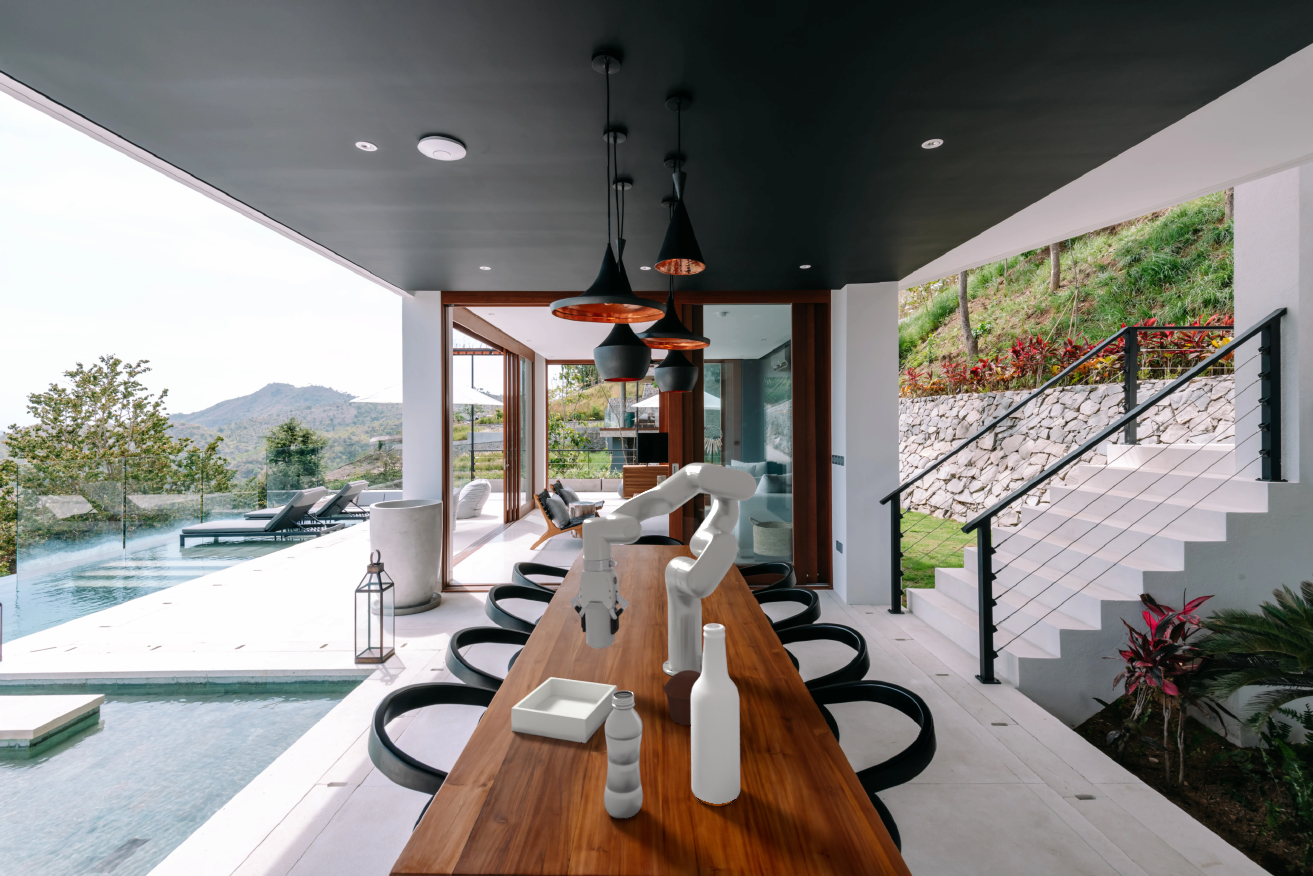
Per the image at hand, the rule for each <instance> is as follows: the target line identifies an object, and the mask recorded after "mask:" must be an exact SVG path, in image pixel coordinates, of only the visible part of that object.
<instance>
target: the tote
mask: <svg viewBox="0 0 1313 876" xmlns="http://www.w3.org/2000/svg"><path fill="white" fill-rule="evenodd" d="M617 691H618V685H614V684H606V683H601V682H599V683H598V682H592V681H591V682H590V681H583V680H577V679H575V680H574V679H569V678H563V677H562V678H559V677H551V676H550V677H549V678H547V679H546V680H545V681H544V682H542V683H541V684H540V685H538V686H537V687H536V688H535V689H534V690H532V691H531V692H530V693H528V694H527V695H526V696H525V697H523V698H522V699H521V700H520V701H519V702H517V703H515V705H513V706H512V707H511V709H510V710H511V713H510V714H511V715H510V716H511V726H510V727H511V732H516V733H522V734H527V735H534V736H540V737H547V738H552V739H559V740H562V741H569V742H570V741H571V742H575V743H581V742H582V743H583V744H587V742H588V741H589V740H590V739H591V737H592V736H593V735H594V734H595V732H596V731H598V729H599V728H600V727H601V726H602V725H603V723H604V722H606V720H607V718H608V716H609V715H610V713H611V712H612V710H613V709H614V708H613V707H612V702H613V699H612V696H613V693H615V692H617ZM582 743H581V744H582Z"/></svg>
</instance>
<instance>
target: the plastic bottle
mask: <svg viewBox="0 0 1313 876" xmlns="http://www.w3.org/2000/svg"><path fill="white" fill-rule="evenodd" d="M612 699H613V702H612V707H613V708H614V709H613V710H612V712H611V713H610V715H609V716H608V717H607V719H606V720H605V723H604V733H605V734H604V735H605V742H606V750H607V751H606V752H607V772H606V783H605V787H604V795H603V802H604V808H605V811H606V812H607V814H608V815H610V816H611V817H612V818H615V819H619V818H620V820H621V818H625V819H630V818H632V816H633V817H634V816H636V815H637V813H639V811H640V809H641V808H642V804H643V800H644V794H643V788H642V787H643V786H642V782H641V772H640V770H641V769H640V757H641V756H640V755H641V754H640V751H641V744H642V743H641V742H642V736H643V730H644V729H643V727H644V725H643V721H642V718H641V716H640V715H639V714H638V711H636V710H635V708H634V707H635V705H636V703H635V694H634V692H633V691H630V690H617V692H615V693H613V696H612ZM635 814H636V815H635ZM629 817H630V818H629Z"/></svg>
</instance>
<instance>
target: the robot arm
mask: <svg viewBox="0 0 1313 876" xmlns="http://www.w3.org/2000/svg"><path fill="white" fill-rule="evenodd" d="M756 492H757V481H756V478H755V477H754V476H753V475H752V473H750V472H748V471H747V470H746V471H745V470H742V469H741V470H740V469H736V468H731V467H727V466H722V465H720V464H719V465H718V464H715V463H709V462H692V463H691V462H690V463H689V464H686V465H685V466H683V467H682V468H680V469H679V470H678V471H676V472H675V473H673V474H672V475H671V476H669V477H668V478H666V479H665V480H664V481H662V482H661V483H659V484H658V485H656V486H655V487H652V488H651V489H648V490H646V491H644V492H642V493H640V494H638V495H637V496H635V497H633V498H629V499H628V500H626V501H624V503H622V504H620V505H619V506H618V507H616V508H615V509H614V510H612V511H611V512H609V513H608V514H607V515H606V516H605V517H602V516H601V517H589V518H585V519H584V520H583V521H582V524H581V527H582V531H581V532H582V556H583V557H582V558H583V569H582V570H581V572H580V577H579V578H580V579H579V589H578V591H579V593H577V594H576V595H575V596H574V597H572V598H571V599H570V600H569V602H570V604H571V605H572V607H573V608H574V610H575V612H576V613H577V614H578V616H579V618H580V624H581V625H580V627H581V628H582V633H586V621H585V607H586V606H587V605H588V604H589V603H588V602H592V603H601V602H603V605H604V606H605V607H606V608H607V609H609V610H610V614H611V616H612V619H611V634H612V635H614V634H615V635H616V633H617V632H618V631H619V629H620V619H619V618H620V616H621V615H622V614H623V613H624V612H625V610H626V609H627V607H628V606H629V605H630V602H629V601H628V600H627V599H626V598H624V596H622V595H621V594H620V587H619V586H620V585H619V579H618V575H617V571H616V569H615V568H614V567H617V564H618V562H617V560H614V559H613V558H614V557H613V554H612V552H613V551H612V545H630V544H631V545H632V544H635V542H637V541H638V540H639V539H640V537H641V536H642V534H643V533H642V532H643V527H642V526H643V525H642V524H641V523H642V522H644V521H646V520H648V519H651V518H656V517H660V516H662V517H663V516H665V515H668V514H671V513H673V512H674V511H676V510H677V509H679V508H680V507H681V506H683V505H684V504H686V503H687V502H688V501H689V500H691V499H693V498H694V497H695V496H697V495H698V494H707V495H710V496H711V495H712V506H711V509H710V511H709V512H708V514H707V515H706V517H705V518H704V520H703V521H702V522H701V524H700V525H699V527H698V528H697V530H696V531H695V533H694V534H693V535H692V536H691V539H690V542H689V549H690V552H691V553H692V555H694V556H695V557H696V558H697V559H693V558H691V557H689V556H676V557H674V558H672V559H671V560H670V561H669V562H668V564H667V565H666V567H665V572H664V581H665V587H666V594H667V629H668V630H667V633H668V634H667V639H668V641H667V645H668V647H667V648H668V649H667V650H668V652H667V653H668V654H667V655H668V659H667V660H666V661H665V662H663V664H662V670H663V672H664V673H665V674H667V675H668V676H671V677H672V676H673V675H675V674H677V673H678V672H681V671H685V670H693V671H697V672H699V673H701V672H702V662H703V646H702V643H703V641H702V639H703V637H702V636H703V634H702V632H703V631H702V629H703V628H702V627H703V626H702V623H703V622H702V621H703V619H702V617H703V616H702V613H703V611H702V610H703V608H702V601H701V599H704V598H707V597H709V596H711V594H713V593H714V591H715V590H716V589H717V587H718V586H719V584H720V583H721V582H722V580H723V579H724V577H725V576H726V574H727V573H728V572H729V570H730V569H731V567H732V565H733V564H734V562H735V560H736V558H737V555H738V551H739V550H738V549H739V546H738V540H737V539H736V537H735V536H734V535H733V534H732V532H733V531H734V529H735V527H736V526H737V523H738V520H739V517H740V508H739V507H740V506H739V502H745V501H748V500H750V499H751V498H752V497H754V495H755V493H756ZM620 604H621V605H620ZM618 605H620V607H619V608H618Z"/></svg>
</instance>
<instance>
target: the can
mask: <svg viewBox="0 0 1313 876" xmlns="http://www.w3.org/2000/svg"><path fill="white" fill-rule="evenodd" d="M588 603H589V604H588V605H587V606H586V607H585V621H586V632H585V641H586V642H585V643H586V645H588V647H590V648H591V649H606V648H609V647H612V644H613V643H614V642H615V640H616V639H615V635H616V633H615V634H614V635H612V634H611V619H612V616H611V614H610V610H609V609H607V608H606V607H605V606H604V605H603V602H601V603H592V602H588Z"/></svg>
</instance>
